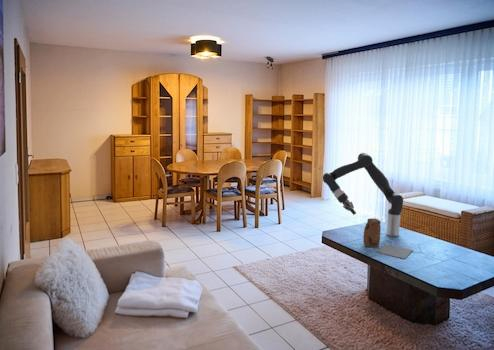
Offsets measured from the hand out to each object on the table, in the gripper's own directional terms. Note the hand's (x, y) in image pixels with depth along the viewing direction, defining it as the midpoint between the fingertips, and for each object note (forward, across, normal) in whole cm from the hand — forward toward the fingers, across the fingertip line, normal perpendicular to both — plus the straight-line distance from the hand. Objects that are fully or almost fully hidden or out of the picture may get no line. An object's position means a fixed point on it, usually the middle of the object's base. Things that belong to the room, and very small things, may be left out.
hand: (354, 214), depth 301 cm
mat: (+37, -2, -7) cm, 38 cm away
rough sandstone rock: (+25, -1, +5) cm, 26 cm away
